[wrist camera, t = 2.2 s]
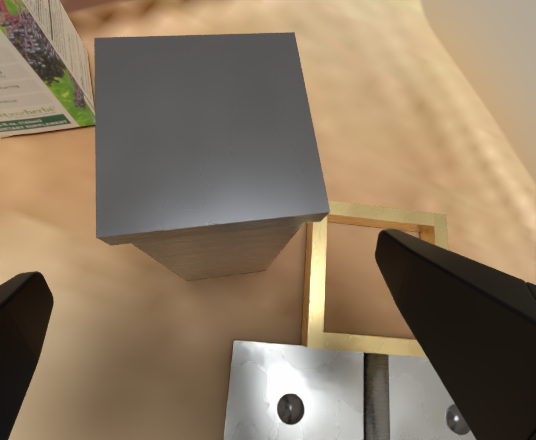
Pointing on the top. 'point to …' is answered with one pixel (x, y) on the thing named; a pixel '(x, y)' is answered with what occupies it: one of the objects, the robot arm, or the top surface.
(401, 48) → the top surface
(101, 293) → the top surface
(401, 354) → the hinge leaves
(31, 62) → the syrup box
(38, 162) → the top surface
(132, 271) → the top surface
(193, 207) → the pin
